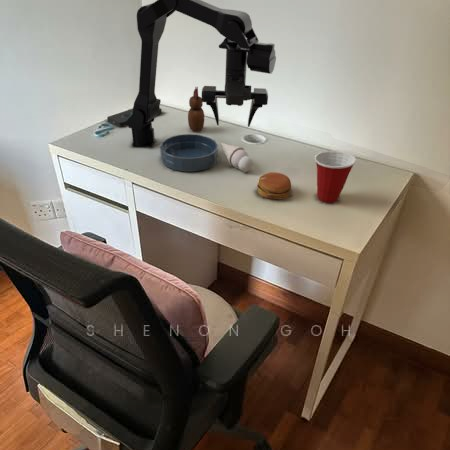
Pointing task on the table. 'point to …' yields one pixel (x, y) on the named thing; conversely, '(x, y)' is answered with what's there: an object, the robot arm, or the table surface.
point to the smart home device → (121, 118)
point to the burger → (274, 185)
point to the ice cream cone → (238, 157)
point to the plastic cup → (332, 174)
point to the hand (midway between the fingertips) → (233, 125)
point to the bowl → (189, 152)
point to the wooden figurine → (196, 112)
